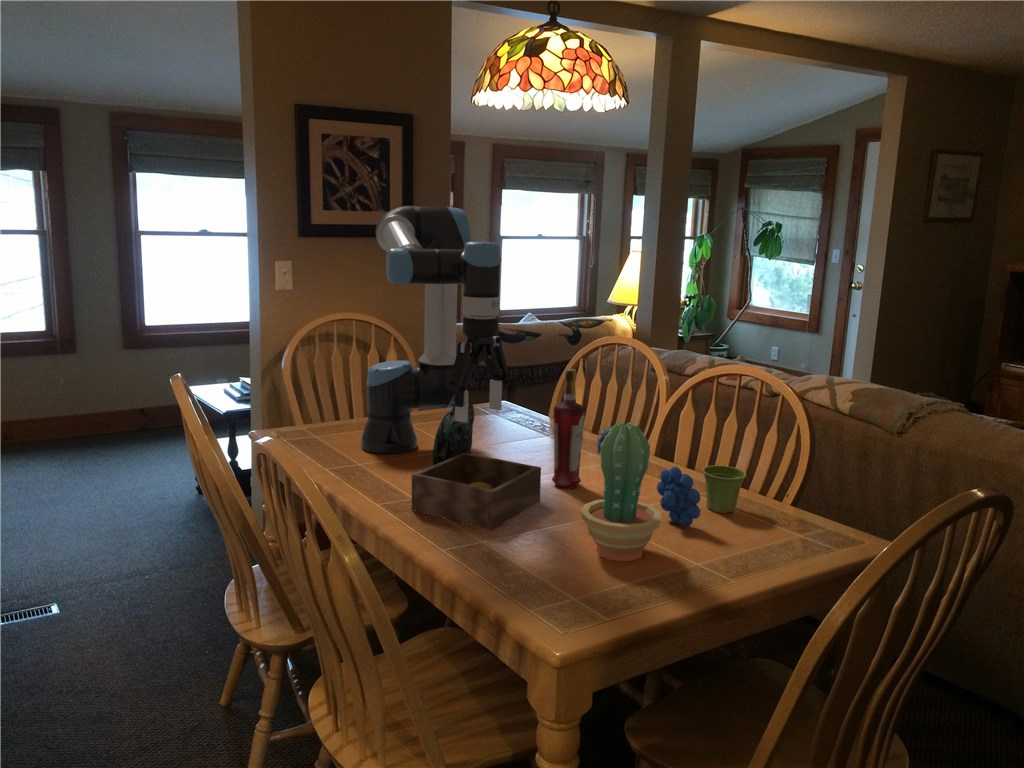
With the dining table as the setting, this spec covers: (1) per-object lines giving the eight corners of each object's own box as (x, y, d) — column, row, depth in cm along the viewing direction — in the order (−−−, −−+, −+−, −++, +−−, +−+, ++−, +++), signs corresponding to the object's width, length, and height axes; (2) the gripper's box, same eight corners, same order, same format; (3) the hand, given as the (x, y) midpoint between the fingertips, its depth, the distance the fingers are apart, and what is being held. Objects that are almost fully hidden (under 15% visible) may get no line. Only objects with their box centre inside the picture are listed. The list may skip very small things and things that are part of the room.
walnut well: (411, 510, 172) (411, 474, 171) (463, 484, 190) (464, 452, 188) (492, 530, 162) (493, 492, 161) (539, 501, 180) (541, 467, 178)
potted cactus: (651, 536, 161) (659, 416, 156) (667, 569, 146) (676, 436, 141) (575, 535, 161) (580, 414, 156) (583, 567, 146) (589, 434, 141)
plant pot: (744, 505, 181) (747, 468, 180) (741, 518, 173) (745, 480, 171) (702, 499, 184) (704, 463, 183) (697, 512, 176) (700, 474, 174)
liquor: (556, 478, 196) (560, 366, 191) (585, 482, 194) (590, 369, 188) (546, 487, 190) (551, 371, 184) (576, 491, 187) (581, 374, 181)
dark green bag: (455, 463, 207) (457, 387, 203) (479, 465, 205) (481, 389, 201) (427, 486, 188) (427, 403, 184) (453, 489, 186) (454, 405, 182)
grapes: (641, 518, 171) (645, 464, 169) (663, 512, 175) (667, 459, 173) (683, 536, 162) (688, 479, 160) (705, 529, 166) (710, 473, 164)
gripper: (463, 323, 155) (461, 429, 160) (525, 313, 177) (522, 406, 181) (431, 320, 159) (430, 424, 163) (496, 310, 180) (493, 402, 184)
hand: (478, 415), depth 172 cm, fingers open, 13 cm apart
